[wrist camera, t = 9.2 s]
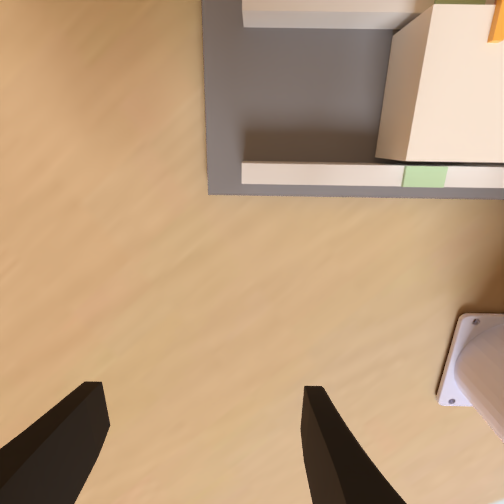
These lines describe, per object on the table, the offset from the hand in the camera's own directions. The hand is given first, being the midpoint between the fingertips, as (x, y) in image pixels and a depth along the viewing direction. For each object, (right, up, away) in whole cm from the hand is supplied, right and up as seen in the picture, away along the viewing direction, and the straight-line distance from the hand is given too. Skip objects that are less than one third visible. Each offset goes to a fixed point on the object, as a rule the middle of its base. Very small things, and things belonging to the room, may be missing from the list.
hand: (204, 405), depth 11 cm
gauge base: (+10, +14, +6) cm, 18 cm away
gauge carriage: (+12, +14, +5) cm, 19 cm away
